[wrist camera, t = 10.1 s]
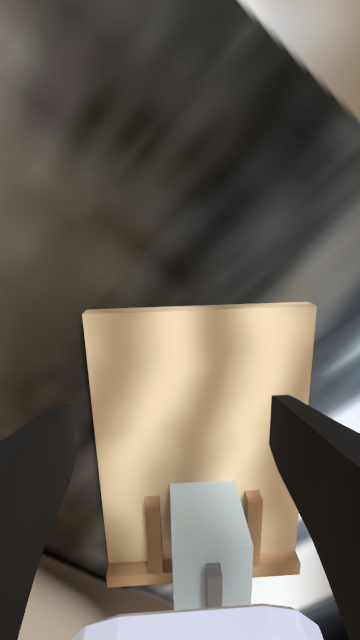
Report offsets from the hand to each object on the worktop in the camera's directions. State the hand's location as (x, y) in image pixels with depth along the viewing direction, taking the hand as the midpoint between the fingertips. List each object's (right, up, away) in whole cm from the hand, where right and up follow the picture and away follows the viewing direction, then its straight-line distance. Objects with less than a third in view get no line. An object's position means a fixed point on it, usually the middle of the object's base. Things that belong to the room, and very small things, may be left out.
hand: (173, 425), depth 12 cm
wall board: (+2, -5, +12) cm, 13 cm away
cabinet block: (+2, -10, +12) cm, 16 cm away
